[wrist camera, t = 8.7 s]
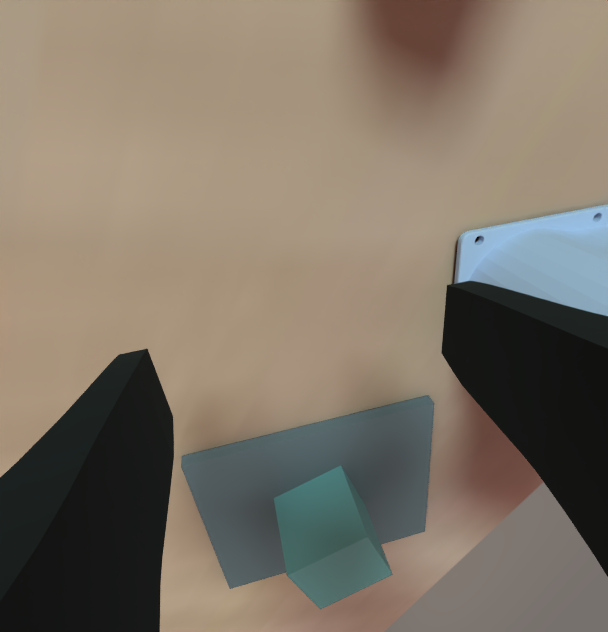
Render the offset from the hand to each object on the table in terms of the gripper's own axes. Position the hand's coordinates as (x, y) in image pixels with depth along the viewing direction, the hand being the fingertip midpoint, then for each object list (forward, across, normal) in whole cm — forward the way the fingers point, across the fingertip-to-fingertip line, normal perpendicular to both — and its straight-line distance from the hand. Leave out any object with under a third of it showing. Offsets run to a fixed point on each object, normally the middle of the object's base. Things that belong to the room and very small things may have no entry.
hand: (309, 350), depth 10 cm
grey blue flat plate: (+10, -1, +20) cm, 23 cm away
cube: (+10, -1, +20) cm, 22 cm away
